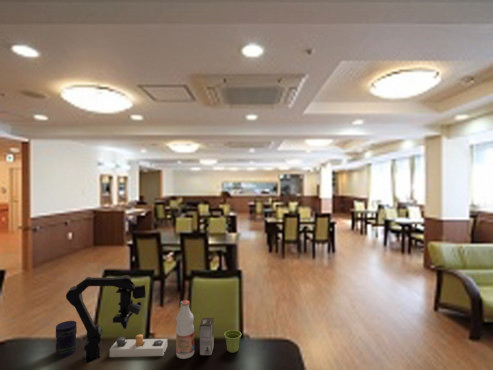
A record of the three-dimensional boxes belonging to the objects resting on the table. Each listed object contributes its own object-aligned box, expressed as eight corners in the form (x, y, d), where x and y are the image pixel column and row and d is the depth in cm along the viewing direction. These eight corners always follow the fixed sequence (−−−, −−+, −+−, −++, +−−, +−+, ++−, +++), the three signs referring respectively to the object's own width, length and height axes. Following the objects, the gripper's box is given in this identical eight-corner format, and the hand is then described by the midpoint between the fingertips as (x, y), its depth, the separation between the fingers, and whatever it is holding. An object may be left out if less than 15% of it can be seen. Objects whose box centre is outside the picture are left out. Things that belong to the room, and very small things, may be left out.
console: (109, 357, 158) (109, 349, 158) (117, 346, 168) (117, 339, 168) (163, 355, 158) (163, 348, 158) (167, 345, 168) (167, 338, 168)
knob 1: (115, 347, 160) (115, 341, 160) (118, 343, 165) (118, 337, 165) (123, 347, 161) (123, 341, 161) (126, 343, 165) (126, 337, 165)
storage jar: (60, 359, 156) (59, 331, 156) (52, 353, 162) (52, 325, 162) (80, 351, 164) (80, 323, 164) (72, 345, 170) (72, 319, 170)
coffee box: (202, 346, 168) (202, 317, 168) (213, 346, 168) (213, 317, 168) (199, 355, 159) (199, 325, 159) (211, 355, 159) (211, 325, 159)
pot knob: (134, 347, 161) (134, 337, 161) (137, 343, 165) (137, 334, 165) (141, 346, 161) (141, 337, 161) (144, 343, 165) (144, 333, 165)
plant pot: (242, 345, 168) (242, 330, 168) (240, 355, 159) (240, 338, 159) (225, 344, 169) (225, 329, 169) (222, 354, 160) (222, 338, 160)
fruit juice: (173, 352, 161) (173, 301, 161) (190, 347, 166) (189, 297, 166) (180, 361, 153) (179, 306, 153) (197, 355, 159) (196, 302, 159)
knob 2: (152, 350, 161) (152, 344, 161) (155, 346, 165) (154, 340, 165) (160, 350, 161) (160, 344, 161) (163, 346, 166) (162, 340, 166)
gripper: (134, 306, 154) (133, 337, 153) (145, 293, 172) (145, 320, 172) (112, 306, 153) (112, 337, 153) (126, 293, 172) (126, 320, 172)
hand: (125, 328), depth 163 cm, fingers closed
